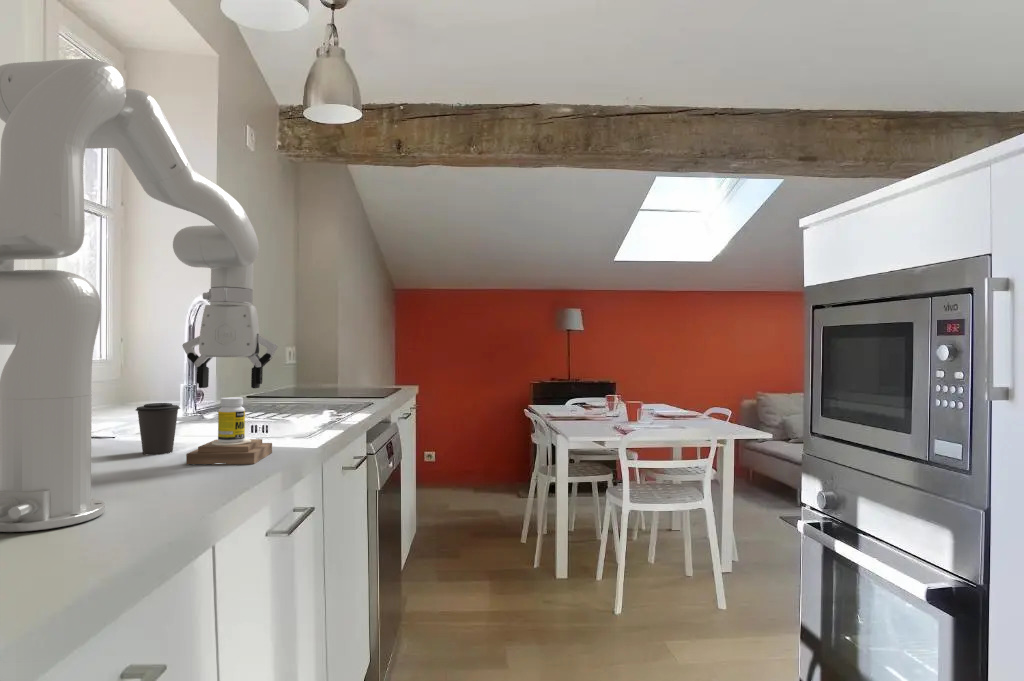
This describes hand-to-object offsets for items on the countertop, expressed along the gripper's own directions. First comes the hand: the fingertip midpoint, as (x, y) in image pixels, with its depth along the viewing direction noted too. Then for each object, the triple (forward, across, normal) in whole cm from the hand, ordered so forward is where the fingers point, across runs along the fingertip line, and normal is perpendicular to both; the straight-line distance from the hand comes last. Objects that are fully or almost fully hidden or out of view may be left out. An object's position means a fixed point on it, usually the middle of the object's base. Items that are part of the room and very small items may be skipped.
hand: (229, 387), depth 124 cm
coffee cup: (+14, -17, +9) cm, 23 cm away
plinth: (+14, 0, +1) cm, 14 cm away
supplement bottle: (+10, 0, +1) cm, 11 cm away
